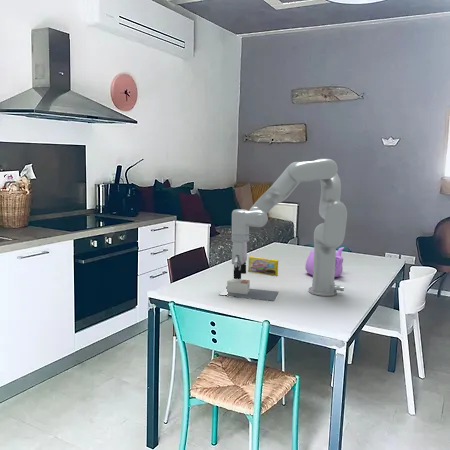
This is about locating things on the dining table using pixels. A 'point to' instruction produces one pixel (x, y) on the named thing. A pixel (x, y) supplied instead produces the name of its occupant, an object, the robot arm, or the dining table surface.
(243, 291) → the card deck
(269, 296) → the mat
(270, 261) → the candy box
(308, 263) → the teapot
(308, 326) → the dining table surface
